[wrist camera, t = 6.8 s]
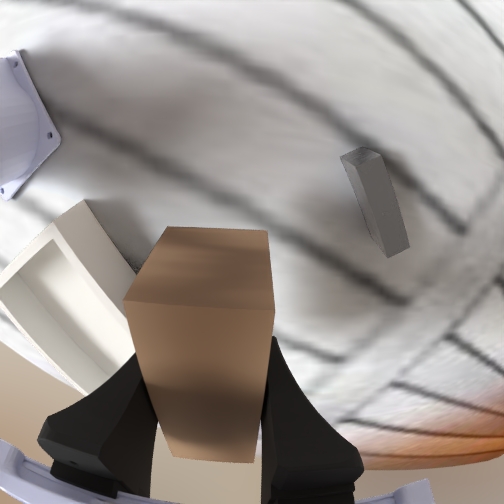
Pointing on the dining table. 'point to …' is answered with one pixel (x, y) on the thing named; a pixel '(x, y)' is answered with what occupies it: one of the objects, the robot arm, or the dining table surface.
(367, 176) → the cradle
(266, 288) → the wooden block
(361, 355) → the dining table surface
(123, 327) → the bin
